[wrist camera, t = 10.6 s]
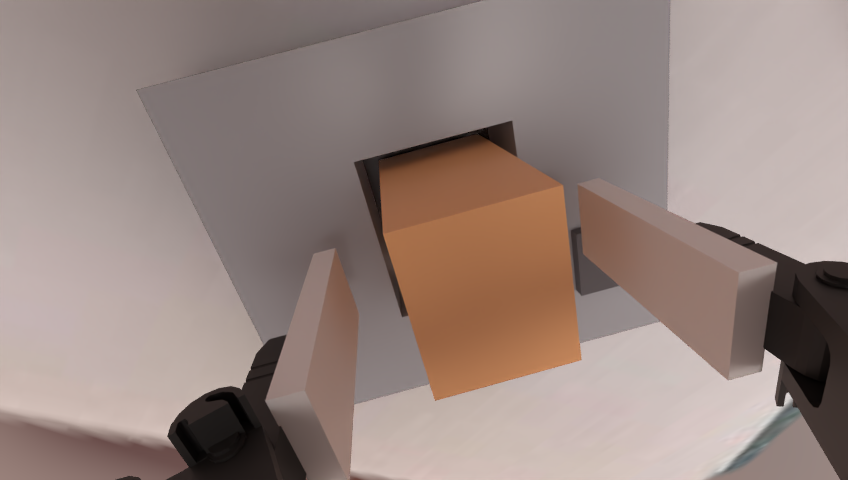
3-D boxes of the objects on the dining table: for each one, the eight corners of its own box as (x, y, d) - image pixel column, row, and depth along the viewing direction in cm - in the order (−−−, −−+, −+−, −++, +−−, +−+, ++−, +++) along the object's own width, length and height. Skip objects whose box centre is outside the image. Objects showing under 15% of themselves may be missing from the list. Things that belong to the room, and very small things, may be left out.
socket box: (188, 85, 17) (127, 90, 12) (606, -23, 17) (681, -53, 13) (312, 362, 23) (298, 427, 19) (618, 279, 23) (672, 326, 19)
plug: (378, 154, 19) (383, 234, 9) (469, 129, 19) (563, 184, 9) (407, 255, 21) (435, 400, 12) (490, 232, 21) (581, 360, 12)
